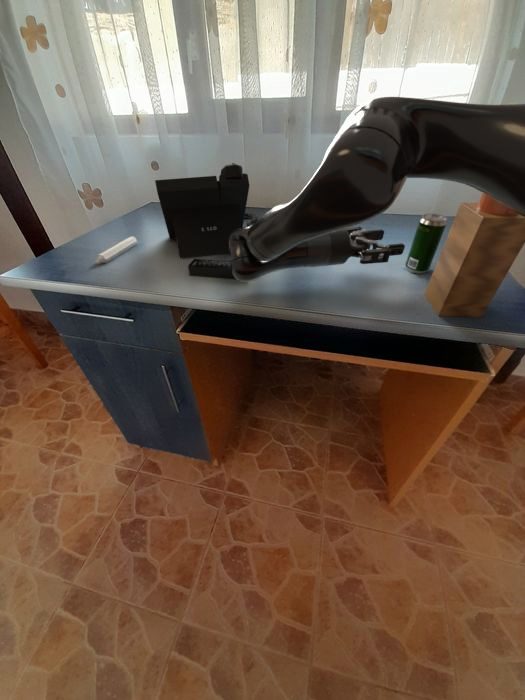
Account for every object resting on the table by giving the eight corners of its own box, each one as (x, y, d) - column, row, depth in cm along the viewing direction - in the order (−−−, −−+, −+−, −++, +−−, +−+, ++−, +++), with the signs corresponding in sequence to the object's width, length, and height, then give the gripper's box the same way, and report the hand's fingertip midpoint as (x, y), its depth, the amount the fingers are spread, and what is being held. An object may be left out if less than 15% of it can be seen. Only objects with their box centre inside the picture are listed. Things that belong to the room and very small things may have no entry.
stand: (463, 295, 62) (509, 203, 50) (481, 317, 56) (539, 218, 44) (424, 294, 63) (460, 202, 51) (438, 315, 57) (483, 217, 45)
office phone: (255, 216, 103) (253, 146, 90) (279, 247, 82) (282, 162, 69) (168, 224, 97) (153, 151, 84) (171, 259, 77) (152, 170, 64)
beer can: (422, 276, 69) (442, 223, 61) (400, 269, 72) (416, 217, 64) (432, 269, 72) (452, 217, 64) (410, 262, 74) (427, 211, 67)
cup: (506, 204, 50) (535, 147, 44) (528, 216, 45) (562, 153, 40) (469, 204, 50) (493, 147, 45) (487, 215, 46) (515, 153, 40)
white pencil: (96, 270, 74) (134, 245, 86) (100, 267, 73) (138, 242, 85) (88, 261, 73) (128, 237, 84) (92, 258, 72) (132, 234, 83)
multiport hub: (248, 280, 68) (247, 270, 67) (188, 275, 70) (187, 266, 69) (252, 271, 71) (251, 262, 70) (195, 267, 73) (193, 258, 72)
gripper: (338, 243, 55) (417, 235, 58) (313, 219, 66) (380, 213, 68) (332, 279, 60) (405, 271, 63) (310, 251, 71) (373, 245, 73)
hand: (392, 241), depth 65 cm, fingers open, 8 cm apart
